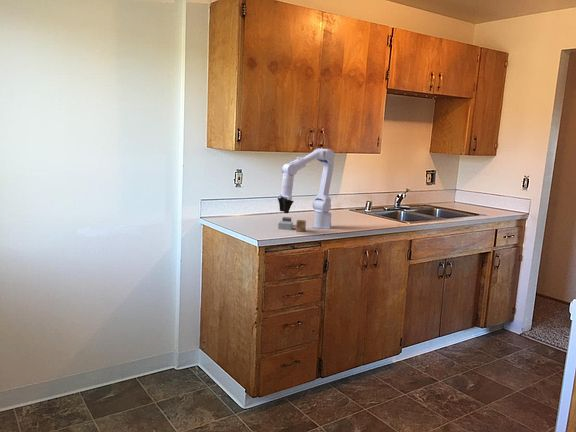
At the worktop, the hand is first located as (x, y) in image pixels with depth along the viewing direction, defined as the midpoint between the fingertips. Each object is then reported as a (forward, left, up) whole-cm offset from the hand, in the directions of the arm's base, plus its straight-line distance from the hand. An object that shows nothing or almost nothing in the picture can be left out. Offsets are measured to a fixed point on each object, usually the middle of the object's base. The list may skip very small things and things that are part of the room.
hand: (283, 212), depth 258 cm
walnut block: (-9, -4, -10) cm, 14 cm away
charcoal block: (0, -17, -10) cm, 20 cm away
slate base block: (0, -9, -11) cm, 14 cm away
